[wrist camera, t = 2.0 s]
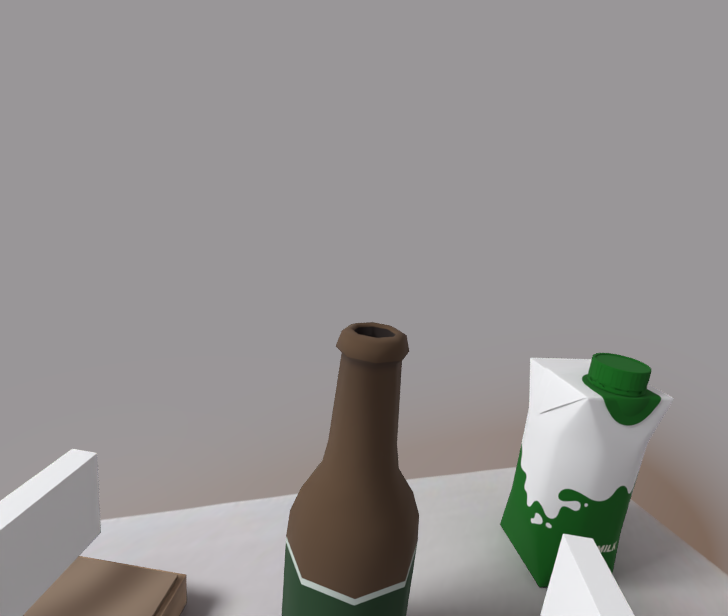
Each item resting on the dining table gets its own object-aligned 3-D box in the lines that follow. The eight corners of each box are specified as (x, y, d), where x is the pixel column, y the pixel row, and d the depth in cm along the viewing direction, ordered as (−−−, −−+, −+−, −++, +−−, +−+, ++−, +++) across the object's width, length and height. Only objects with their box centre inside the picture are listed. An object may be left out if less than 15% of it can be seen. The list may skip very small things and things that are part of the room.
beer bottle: (253, 675, 28) (266, 321, 21) (338, 598, 33) (367, 302, 27) (337, 789, 23) (385, 373, 16) (420, 676, 28) (479, 337, 22)
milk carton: (535, 598, 35) (591, 374, 30) (486, 517, 43) (523, 332, 38) (628, 590, 36) (696, 375, 31) (563, 513, 45) (609, 335, 40)
